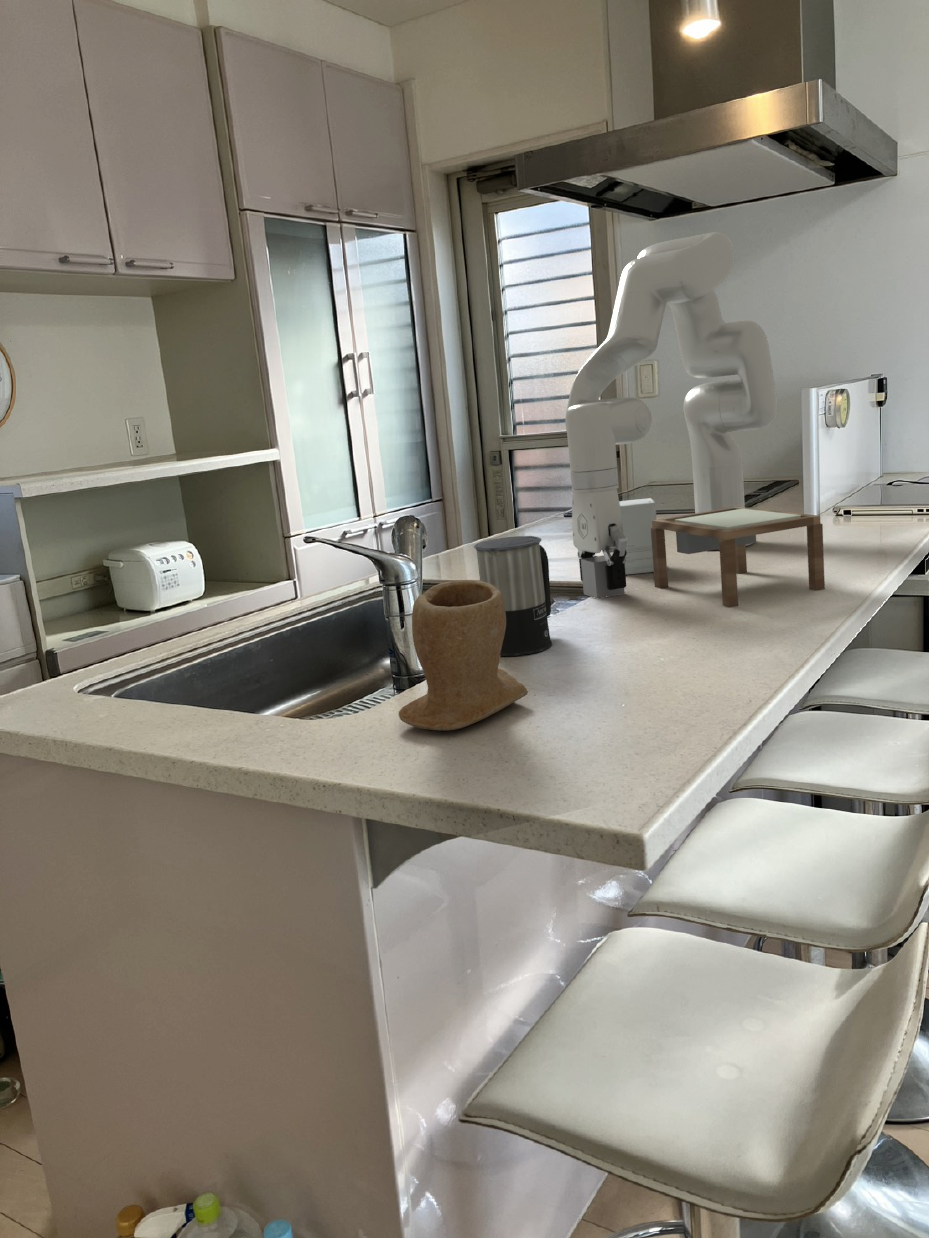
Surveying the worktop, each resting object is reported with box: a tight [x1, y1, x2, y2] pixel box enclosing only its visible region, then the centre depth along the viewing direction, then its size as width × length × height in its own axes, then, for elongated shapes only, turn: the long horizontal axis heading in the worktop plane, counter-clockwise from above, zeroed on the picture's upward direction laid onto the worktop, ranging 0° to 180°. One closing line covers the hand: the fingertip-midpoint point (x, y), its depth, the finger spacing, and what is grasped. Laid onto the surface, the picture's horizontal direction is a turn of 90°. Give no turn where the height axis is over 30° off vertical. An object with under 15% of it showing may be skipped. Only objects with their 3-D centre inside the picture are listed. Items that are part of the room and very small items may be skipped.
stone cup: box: [397, 579, 529, 731], centre depth 109 cm, size 15×12×15 cm
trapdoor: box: [675, 509, 801, 555], centre depth 158 cm, size 15×13×5 cm
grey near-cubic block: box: [581, 554, 625, 599], centre depth 167 cm, size 5×5×6 cm
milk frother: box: [473, 535, 553, 657], centre depth 140 cm, size 14×16×15 cm
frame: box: [651, 506, 826, 608], centre depth 160 cm, size 22×17×11 cm
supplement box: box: [619, 497, 658, 576], centre depth 183 cm, size 7×7×13 cm
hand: (603, 584), depth 167 cm, fingers open, 9 cm apart
